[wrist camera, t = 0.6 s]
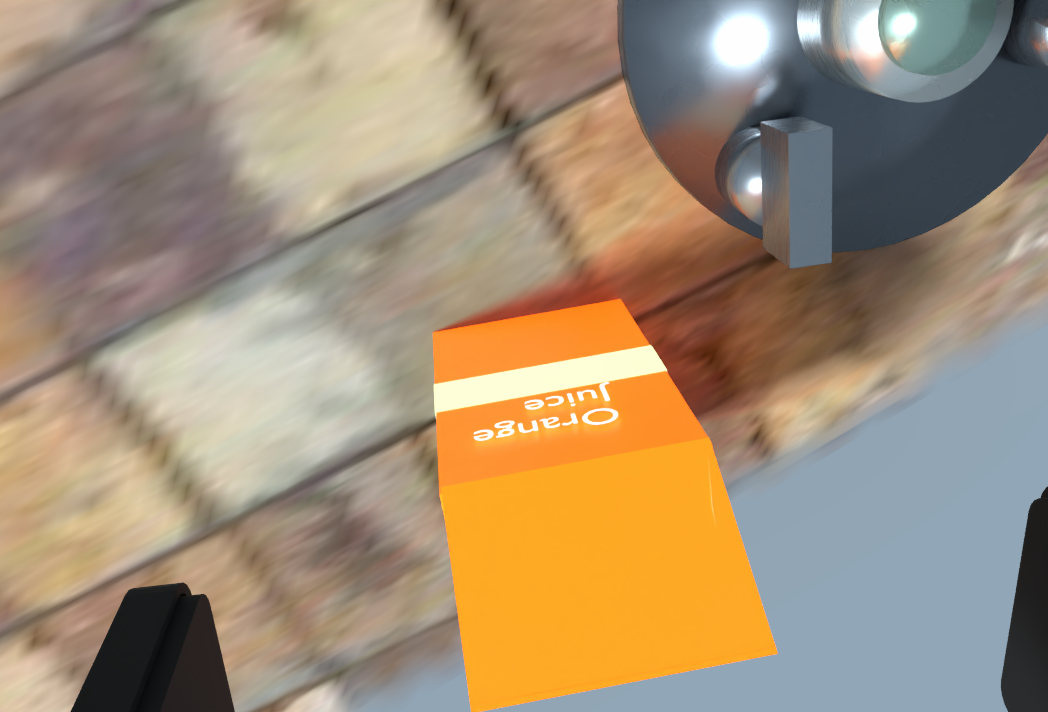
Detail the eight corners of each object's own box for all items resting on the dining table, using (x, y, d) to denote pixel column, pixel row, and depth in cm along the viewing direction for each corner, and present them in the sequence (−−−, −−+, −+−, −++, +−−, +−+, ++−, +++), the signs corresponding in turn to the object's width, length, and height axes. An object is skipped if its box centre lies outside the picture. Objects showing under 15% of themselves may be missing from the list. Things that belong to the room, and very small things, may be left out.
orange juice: (639, 445, 46) (787, 758, 28) (460, 478, 46) (488, 817, 27) (621, 294, 43) (774, 531, 25) (430, 328, 43) (438, 594, 24)
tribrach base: (596, -241, 35) (640, -295, 28) (1111, -302, 36) (1276, -368, 29) (635, 272, 43) (677, 329, 36) (1060, 210, 44) (1181, 254, 37)
